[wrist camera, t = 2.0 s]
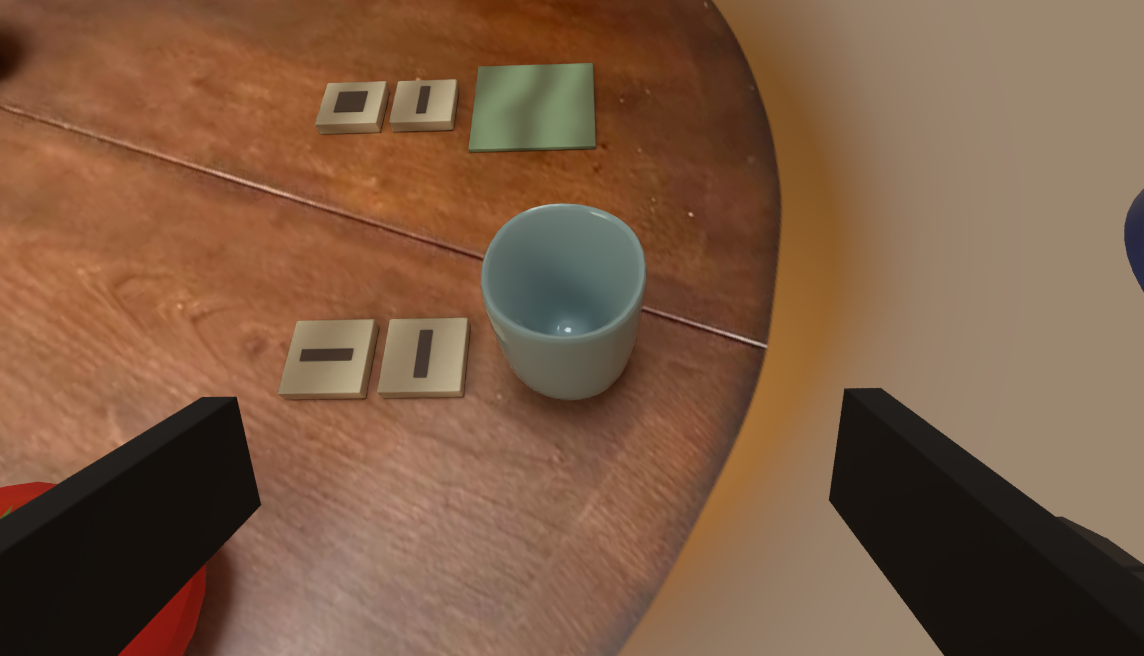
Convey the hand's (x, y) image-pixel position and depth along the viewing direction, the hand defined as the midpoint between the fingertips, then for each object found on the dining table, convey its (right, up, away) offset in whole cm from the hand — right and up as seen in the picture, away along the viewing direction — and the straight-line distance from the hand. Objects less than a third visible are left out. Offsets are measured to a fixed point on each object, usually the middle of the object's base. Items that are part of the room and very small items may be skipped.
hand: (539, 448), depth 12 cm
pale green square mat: (-9, +21, +32) cm, 40 cm away
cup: (+1, +1, +22) cm, 22 cm away
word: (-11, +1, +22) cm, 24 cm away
